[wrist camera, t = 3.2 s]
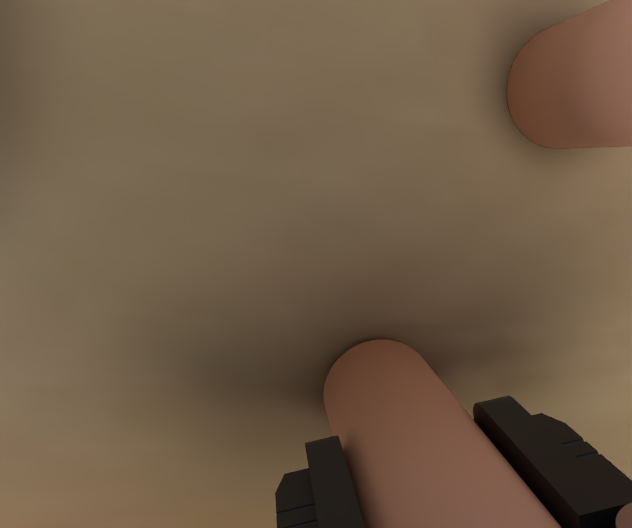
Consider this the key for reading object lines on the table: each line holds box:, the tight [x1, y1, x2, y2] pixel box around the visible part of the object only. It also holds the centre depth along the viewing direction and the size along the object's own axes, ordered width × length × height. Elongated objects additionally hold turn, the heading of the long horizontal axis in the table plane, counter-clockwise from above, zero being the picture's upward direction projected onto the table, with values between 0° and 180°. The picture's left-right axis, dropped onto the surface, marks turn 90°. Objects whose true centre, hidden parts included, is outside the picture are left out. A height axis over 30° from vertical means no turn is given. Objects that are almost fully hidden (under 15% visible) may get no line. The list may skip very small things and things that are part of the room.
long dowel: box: [323, 339, 562, 528], centre depth 9 cm, size 3×3×10 cm
